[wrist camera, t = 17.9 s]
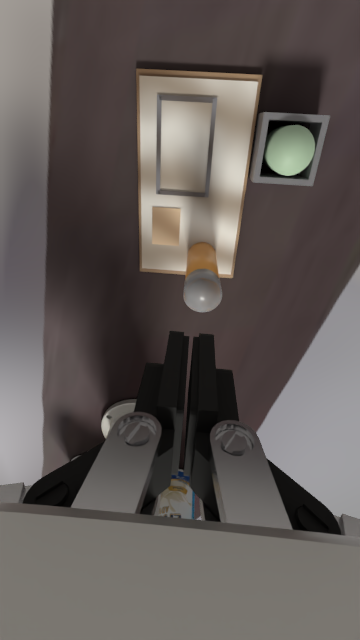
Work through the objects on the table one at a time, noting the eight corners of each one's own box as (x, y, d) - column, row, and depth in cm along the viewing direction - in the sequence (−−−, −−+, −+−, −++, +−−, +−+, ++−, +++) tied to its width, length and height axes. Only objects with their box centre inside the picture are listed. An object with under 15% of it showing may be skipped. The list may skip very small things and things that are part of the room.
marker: (214, 270, 36) (219, 313, 28) (185, 268, 36) (182, 310, 28) (218, 242, 35) (224, 279, 26) (188, 240, 35) (185, 275, 26)
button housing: (302, 181, 32) (312, 186, 29) (248, 177, 32) (253, 182, 29) (317, 117, 29) (330, 115, 26) (258, 114, 29) (264, 111, 26)
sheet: (232, 276, 37) (232, 279, 37) (140, 269, 38) (139, 272, 37) (261, 75, 28) (263, 74, 27) (137, 69, 28) (135, 67, 27)
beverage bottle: (164, 495, 62) (147, 634, 45) (143, 471, 58) (116, 612, 41) (203, 487, 60) (202, 630, 42) (184, 461, 56) (174, 606, 39)
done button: (297, 172, 31) (308, 177, 28) (258, 169, 31) (264, 174, 28) (306, 127, 29) (320, 126, 26) (265, 124, 29) (273, 123, 26)
